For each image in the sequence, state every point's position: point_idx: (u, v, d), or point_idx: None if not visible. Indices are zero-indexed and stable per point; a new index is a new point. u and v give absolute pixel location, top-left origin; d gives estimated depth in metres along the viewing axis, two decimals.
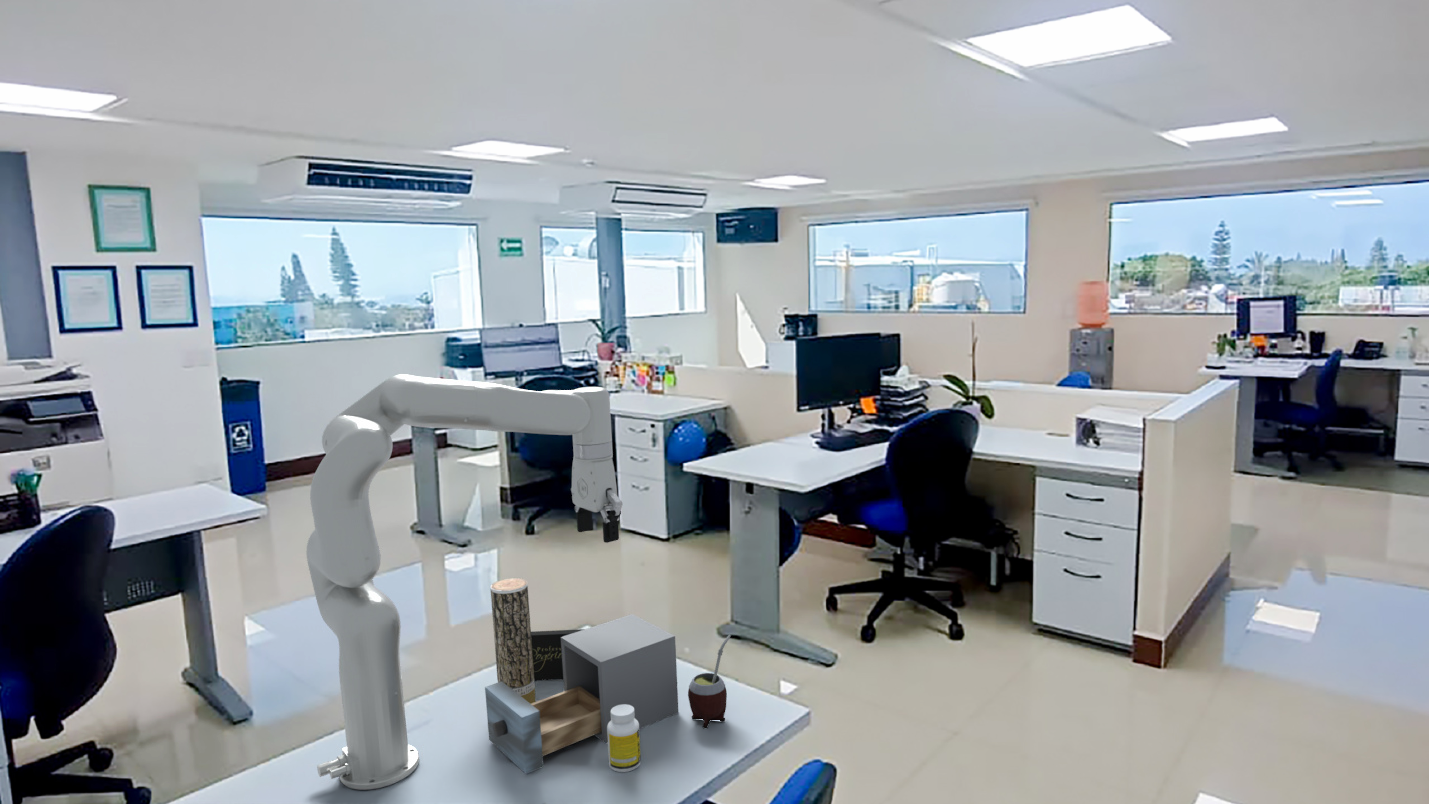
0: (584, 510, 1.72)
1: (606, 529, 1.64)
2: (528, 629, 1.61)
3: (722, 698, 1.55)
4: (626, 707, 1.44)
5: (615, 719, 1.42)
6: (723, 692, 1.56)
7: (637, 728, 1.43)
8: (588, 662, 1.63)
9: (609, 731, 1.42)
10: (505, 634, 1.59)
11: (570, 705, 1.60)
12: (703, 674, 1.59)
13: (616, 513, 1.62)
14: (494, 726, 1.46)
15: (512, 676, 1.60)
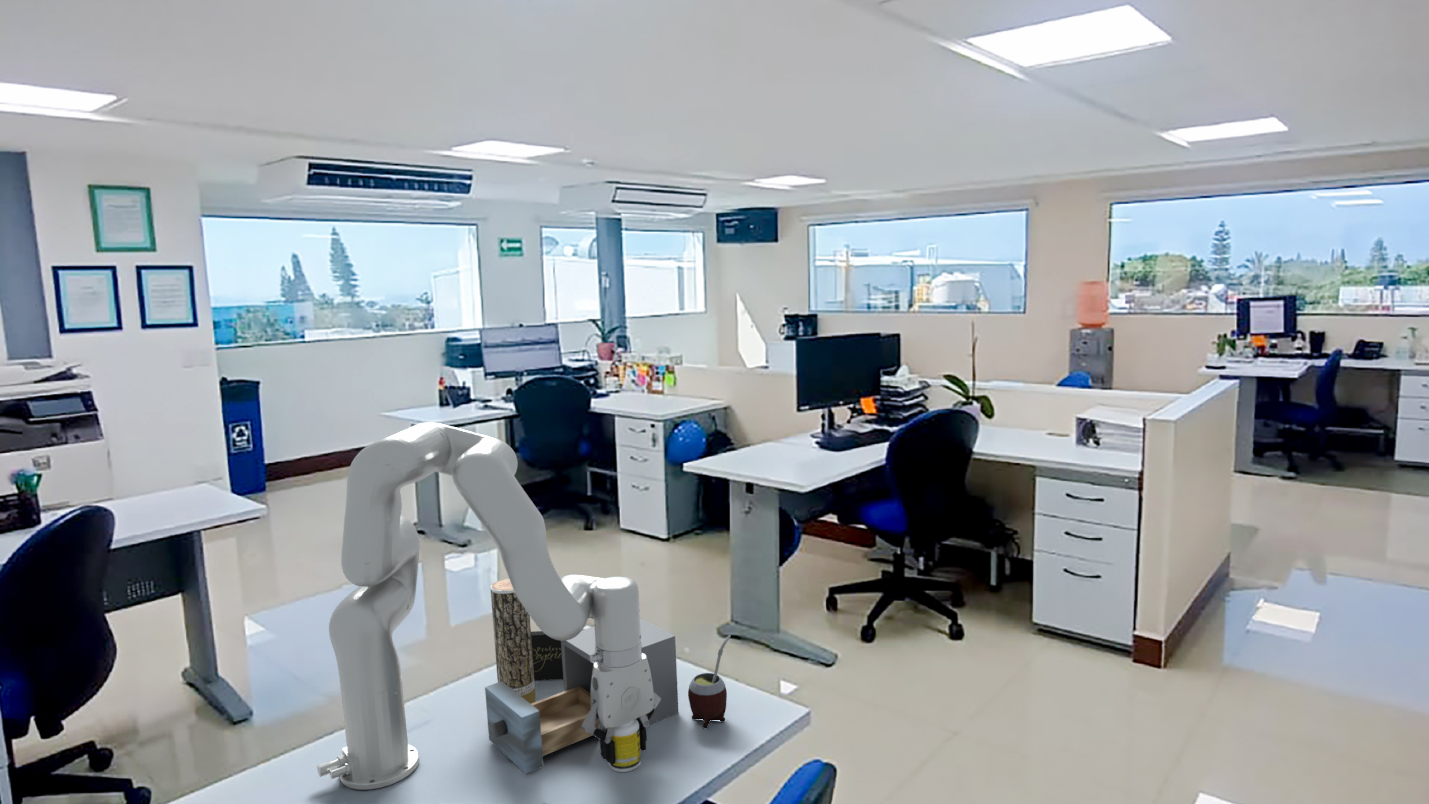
0: None
1: None
2: (528, 629, 1.61)
3: (722, 698, 1.55)
4: None
5: None
6: (723, 692, 1.56)
7: (637, 728, 1.43)
8: (588, 662, 1.63)
9: None
10: (505, 634, 1.59)
11: (570, 705, 1.60)
12: (703, 674, 1.59)
13: None
14: (494, 726, 1.46)
15: (512, 676, 1.60)
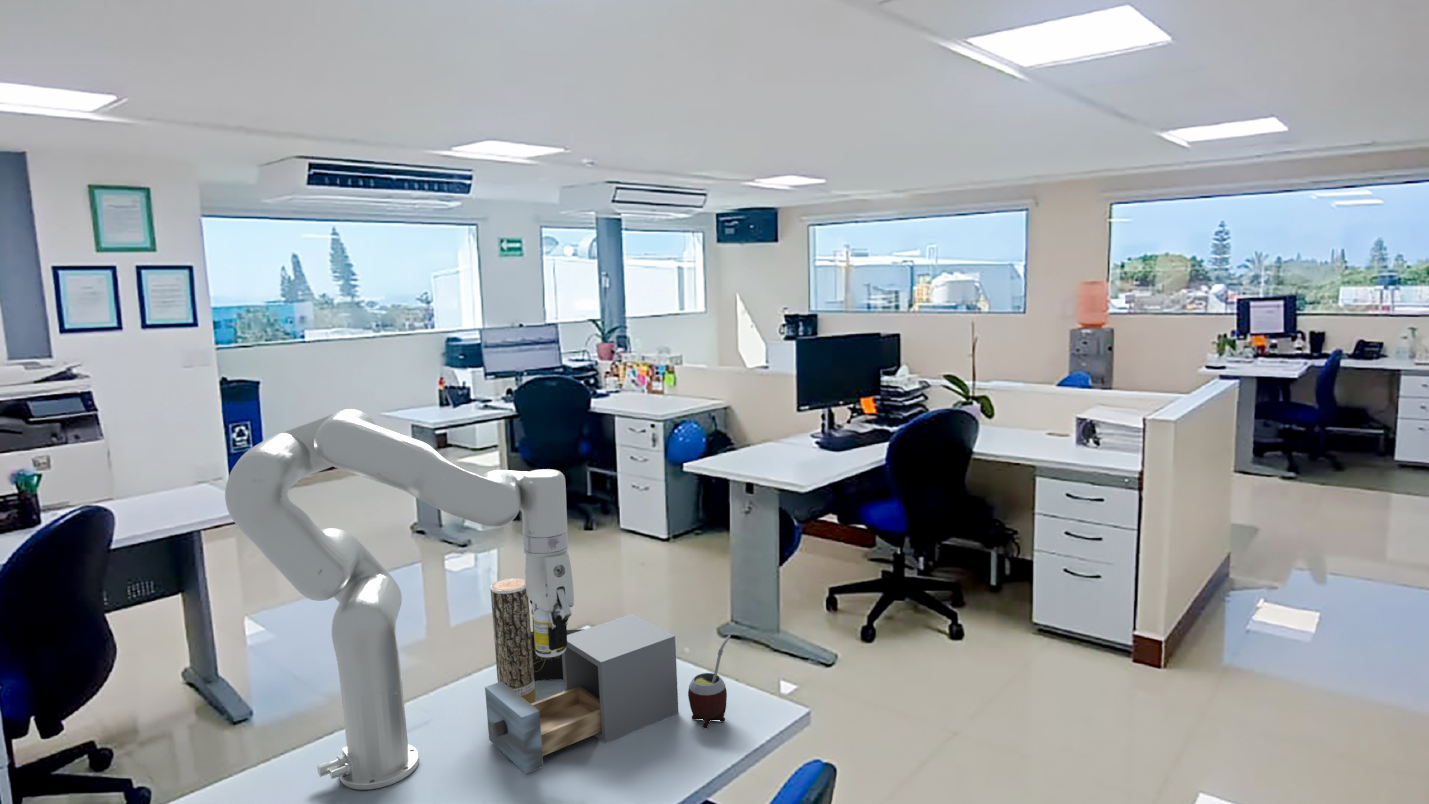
0: None
1: None
2: (528, 629, 1.61)
3: (722, 698, 1.55)
4: None
5: (556, 605, 1.48)
6: (723, 692, 1.56)
7: None
8: (588, 662, 1.63)
9: None
10: (505, 634, 1.59)
11: (570, 705, 1.60)
12: (703, 674, 1.59)
13: None
14: (494, 726, 1.46)
15: (512, 676, 1.60)
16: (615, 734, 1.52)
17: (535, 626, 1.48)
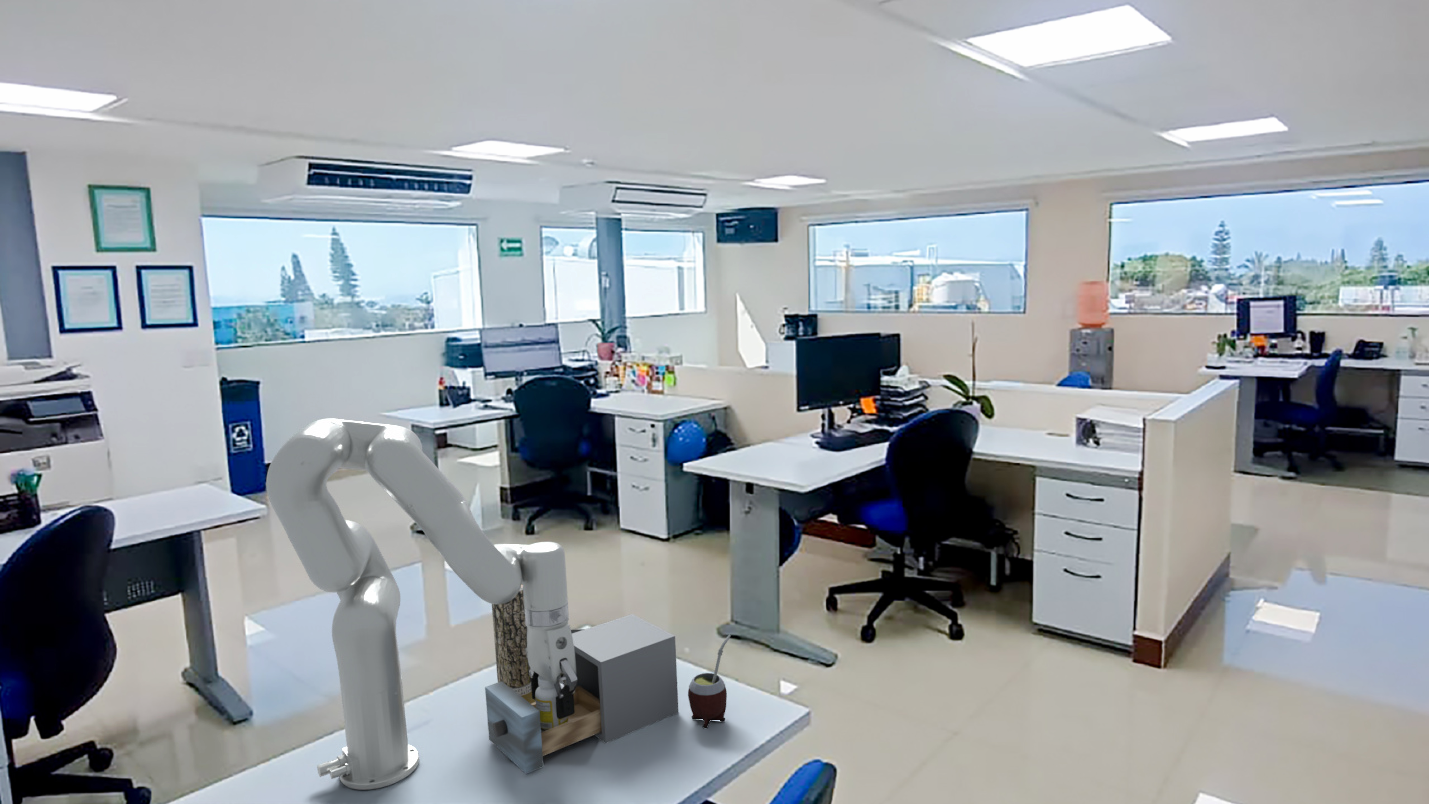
0: None
1: None
2: None
3: (722, 698, 1.55)
4: None
5: None
6: (723, 692, 1.56)
7: None
8: (588, 662, 1.63)
9: None
10: (505, 634, 1.59)
11: None
12: (703, 674, 1.59)
13: None
14: (494, 726, 1.46)
15: (512, 676, 1.60)
16: (615, 734, 1.52)
17: (537, 704, 1.50)
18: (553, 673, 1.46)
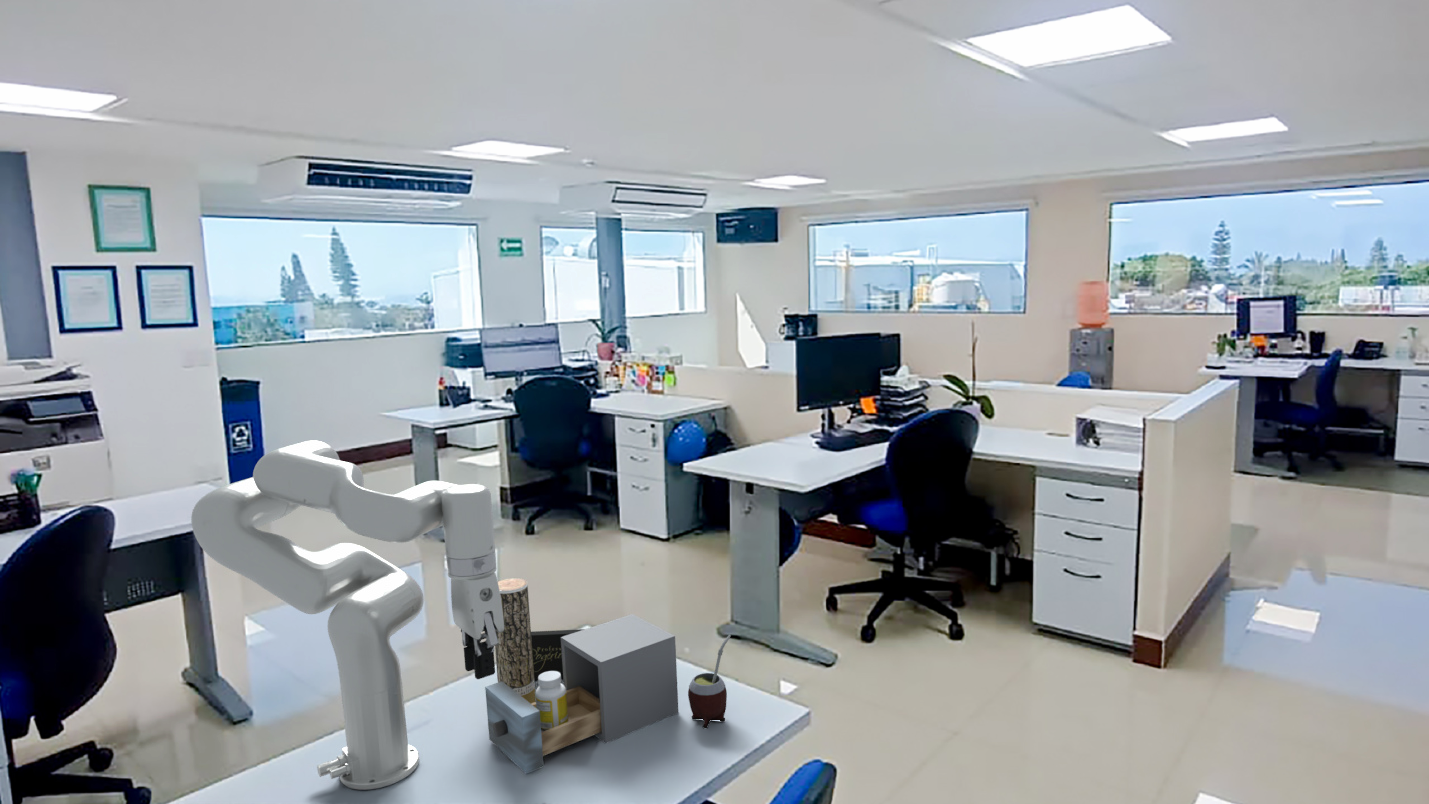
0: None
1: None
2: (528, 629, 1.61)
3: (722, 698, 1.55)
4: (546, 674, 1.52)
5: (558, 682, 1.50)
6: (723, 692, 1.56)
7: None
8: (588, 662, 1.63)
9: (557, 696, 1.50)
10: (505, 634, 1.59)
11: (570, 705, 1.60)
12: (703, 674, 1.59)
13: None
14: (494, 726, 1.46)
15: (512, 676, 1.60)
16: (615, 734, 1.52)
17: (537, 704, 1.50)
18: (477, 627, 1.32)
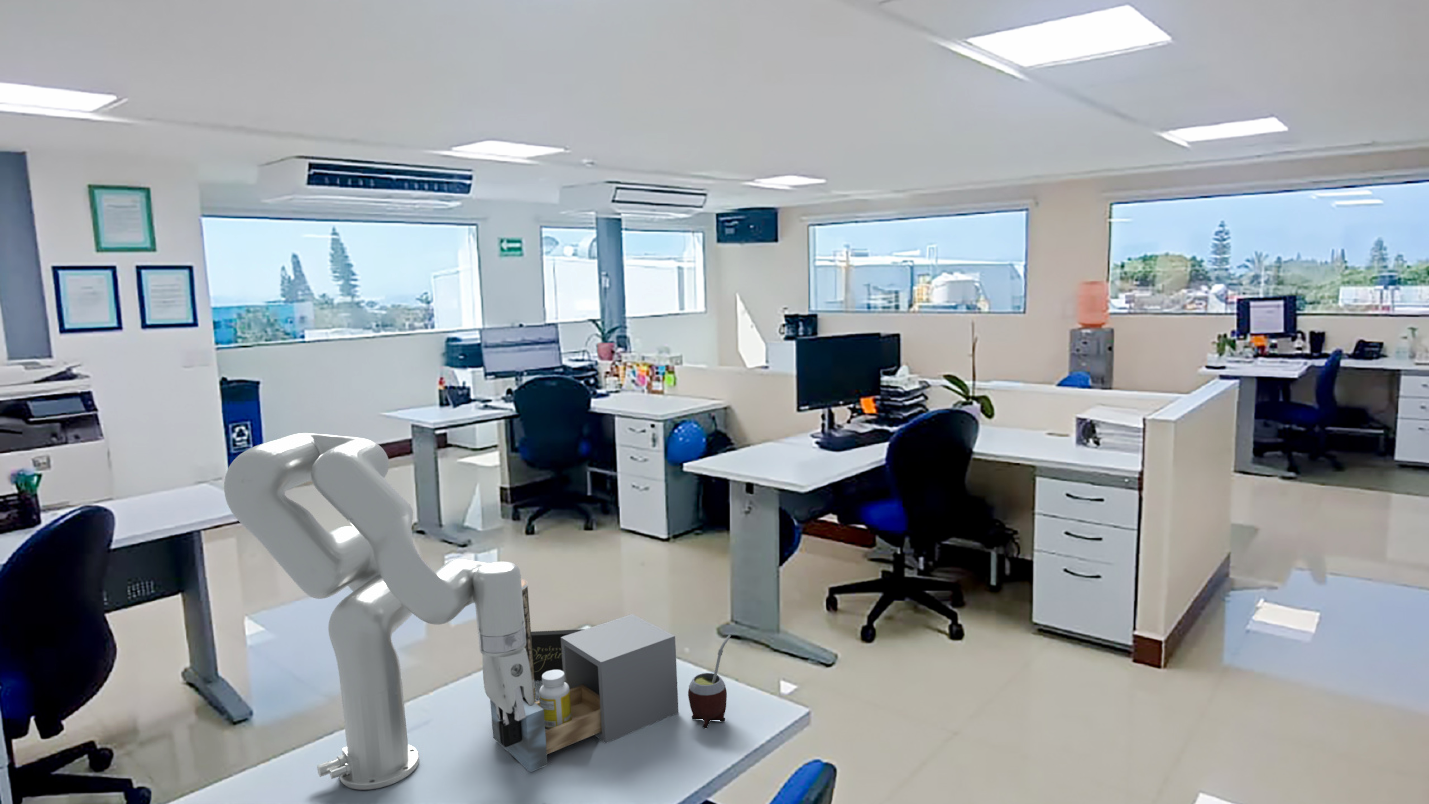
0: None
1: None
2: (528, 629, 1.61)
3: (722, 698, 1.55)
4: (550, 673, 1.52)
5: (561, 681, 1.51)
6: (723, 692, 1.56)
7: None
8: (588, 662, 1.63)
9: (561, 695, 1.50)
10: None
11: (574, 704, 1.60)
12: (703, 674, 1.59)
13: None
14: (498, 724, 1.46)
15: None
16: (615, 734, 1.52)
17: (541, 703, 1.51)
18: (508, 702, 1.36)
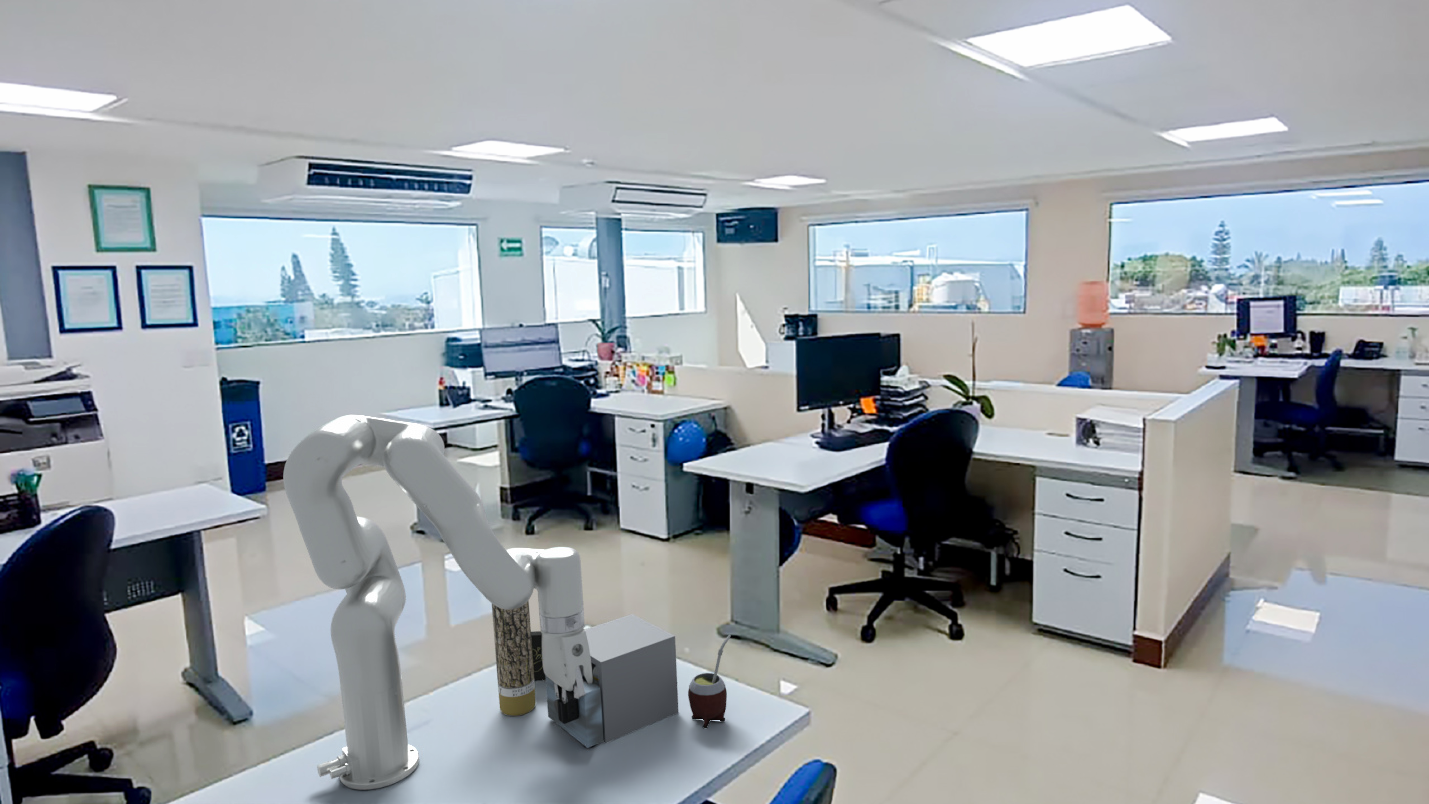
0: None
1: None
2: (528, 629, 1.61)
3: (722, 698, 1.55)
4: None
5: None
6: (723, 692, 1.56)
7: None
8: None
9: None
10: (505, 634, 1.59)
11: None
12: (703, 674, 1.59)
13: None
14: (556, 703, 1.53)
15: (512, 676, 1.60)
16: (615, 734, 1.52)
17: (595, 682, 1.58)
18: (569, 681, 1.43)
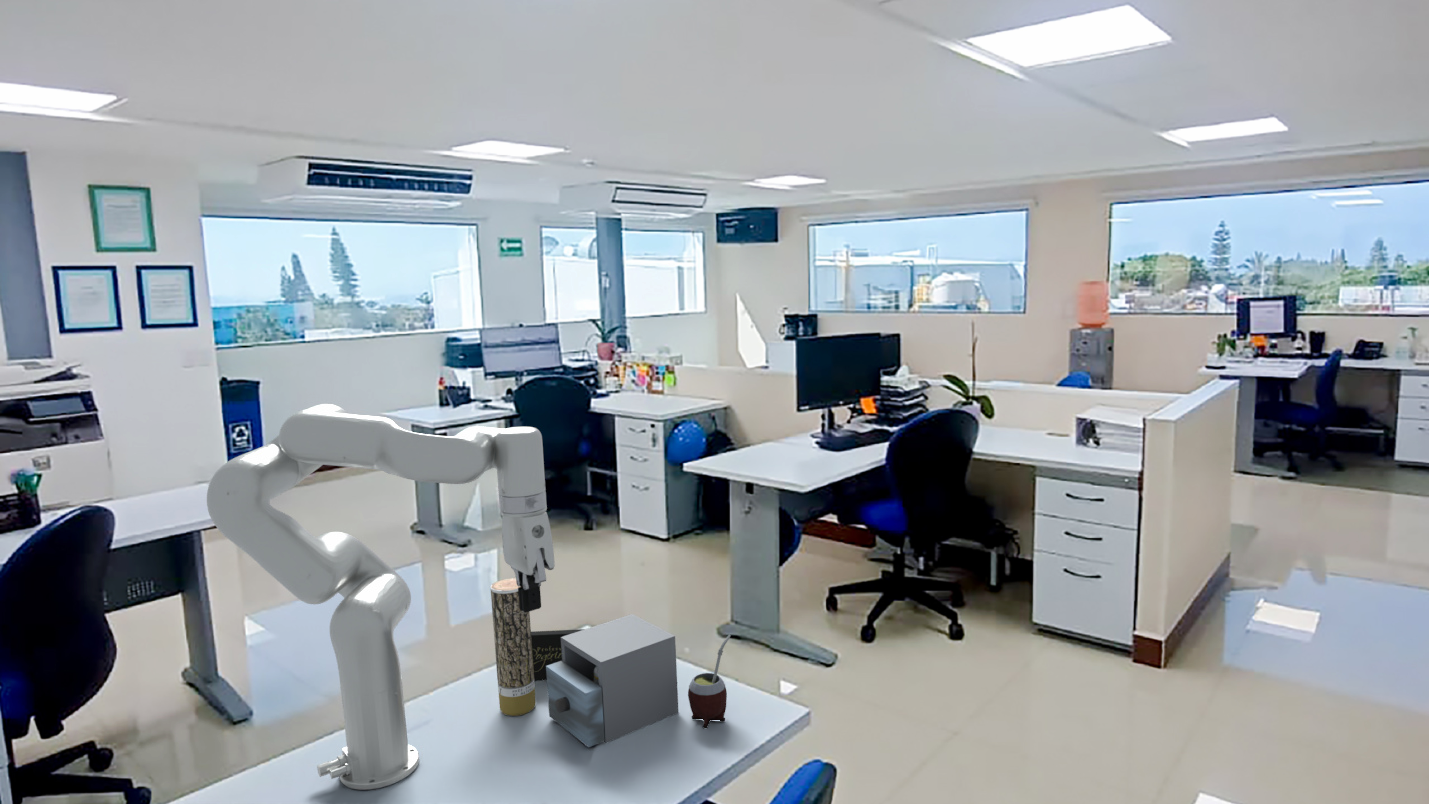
0: None
1: None
2: (528, 629, 1.61)
3: (722, 698, 1.55)
4: None
5: None
6: (723, 692, 1.56)
7: None
8: (588, 662, 1.63)
9: None
10: (505, 634, 1.59)
11: None
12: (703, 674, 1.59)
13: None
14: (557, 702, 1.53)
15: (512, 676, 1.60)
16: (615, 734, 1.52)
17: (596, 682, 1.58)
18: (529, 563, 1.37)
